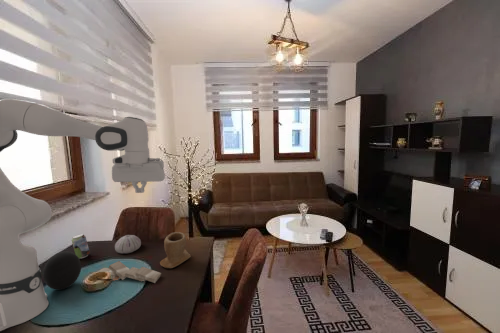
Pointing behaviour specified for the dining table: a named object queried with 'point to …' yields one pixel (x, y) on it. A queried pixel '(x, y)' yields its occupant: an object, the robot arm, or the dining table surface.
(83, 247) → the beverage can
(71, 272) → the decorative egg
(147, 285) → the dining table surface
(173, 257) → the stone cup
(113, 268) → the domino
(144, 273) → the domino
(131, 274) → the domino
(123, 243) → the sea urchin shell
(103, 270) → the domino
